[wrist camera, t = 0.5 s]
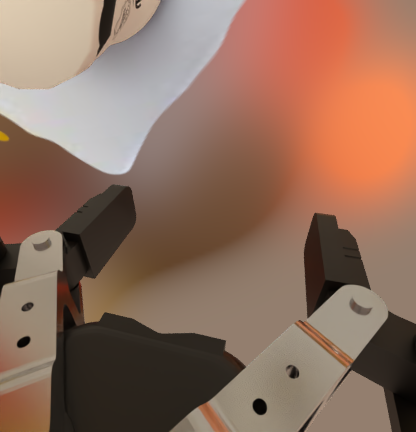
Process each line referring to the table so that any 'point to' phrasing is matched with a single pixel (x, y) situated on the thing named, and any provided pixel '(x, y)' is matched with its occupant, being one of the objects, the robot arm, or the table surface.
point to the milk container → (62, 36)
